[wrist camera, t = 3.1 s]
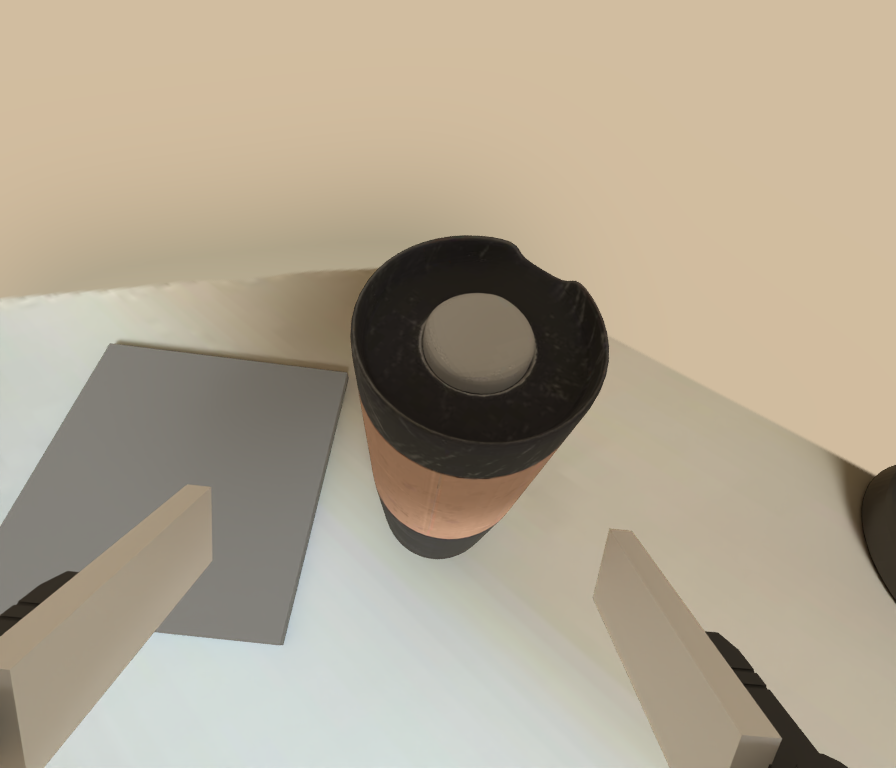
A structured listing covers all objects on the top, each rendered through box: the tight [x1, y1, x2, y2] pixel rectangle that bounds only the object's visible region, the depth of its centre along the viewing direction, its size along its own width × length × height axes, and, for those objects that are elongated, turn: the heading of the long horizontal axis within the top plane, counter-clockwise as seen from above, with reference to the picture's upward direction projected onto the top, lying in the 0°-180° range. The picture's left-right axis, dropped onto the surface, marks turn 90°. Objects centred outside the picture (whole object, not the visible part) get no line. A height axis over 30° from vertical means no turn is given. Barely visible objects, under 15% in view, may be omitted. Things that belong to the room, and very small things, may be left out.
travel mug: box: [351, 236, 609, 559], centre depth 21 cm, size 8×8×20 cm
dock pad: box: [0, 343, 348, 645], centre depth 29 cm, size 18×18×1 cm
